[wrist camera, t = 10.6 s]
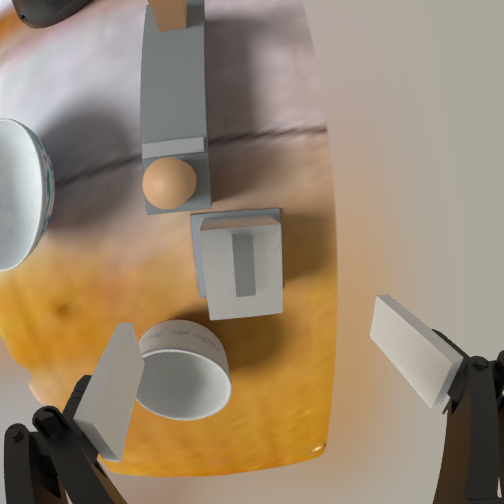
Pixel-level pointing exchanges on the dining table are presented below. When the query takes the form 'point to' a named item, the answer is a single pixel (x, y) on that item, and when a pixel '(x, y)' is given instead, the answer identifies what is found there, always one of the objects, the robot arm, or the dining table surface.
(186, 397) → the teacup
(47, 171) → the chinaware
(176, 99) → the plane
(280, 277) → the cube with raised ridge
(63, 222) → the dining table surface
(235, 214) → the mat
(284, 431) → the dining table surface
